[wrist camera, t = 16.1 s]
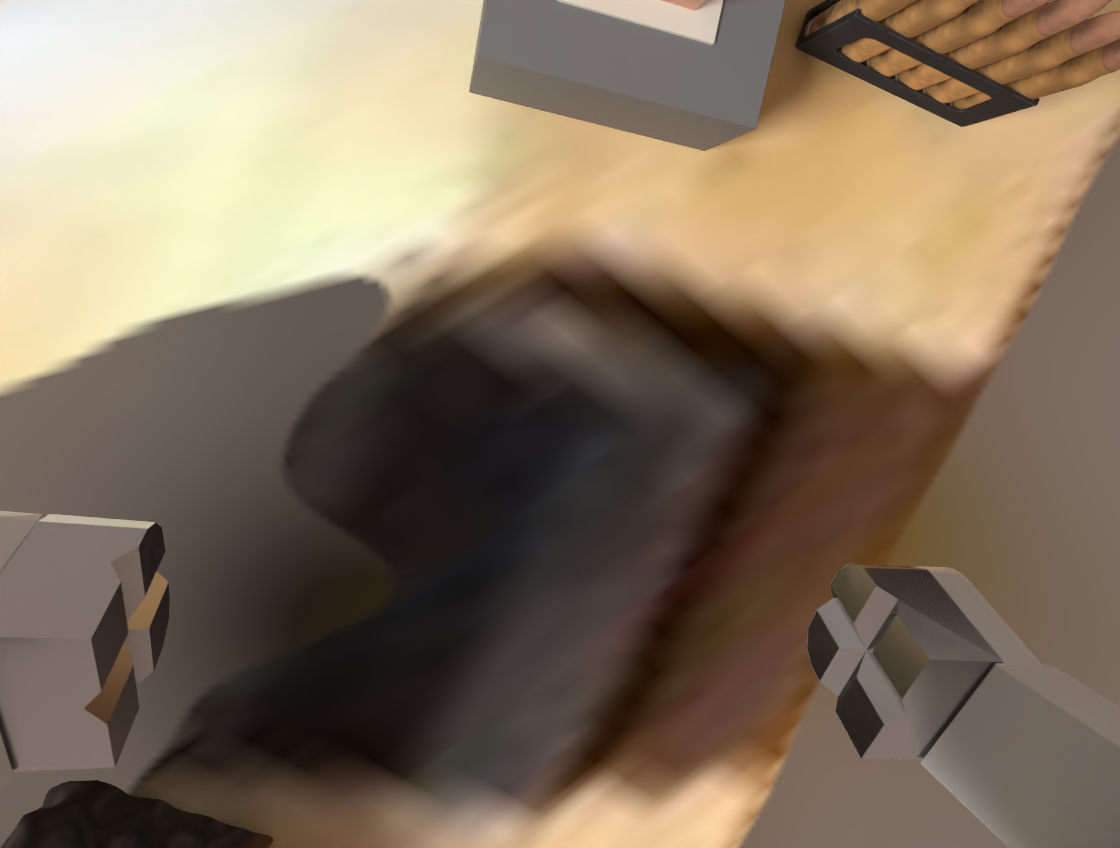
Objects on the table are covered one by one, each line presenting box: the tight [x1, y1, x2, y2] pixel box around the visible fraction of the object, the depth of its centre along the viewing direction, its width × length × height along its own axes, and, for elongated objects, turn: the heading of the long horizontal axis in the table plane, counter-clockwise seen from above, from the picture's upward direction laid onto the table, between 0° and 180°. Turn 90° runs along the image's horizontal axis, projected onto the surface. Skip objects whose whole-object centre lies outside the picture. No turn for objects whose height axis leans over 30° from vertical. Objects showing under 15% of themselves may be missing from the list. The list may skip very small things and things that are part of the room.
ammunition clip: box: [796, 0, 1120, 127], centre depth 31 cm, size 11×2×12 cm, turn 71°
